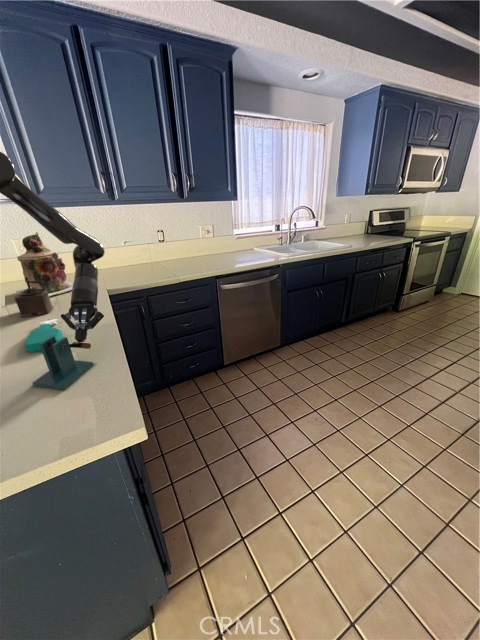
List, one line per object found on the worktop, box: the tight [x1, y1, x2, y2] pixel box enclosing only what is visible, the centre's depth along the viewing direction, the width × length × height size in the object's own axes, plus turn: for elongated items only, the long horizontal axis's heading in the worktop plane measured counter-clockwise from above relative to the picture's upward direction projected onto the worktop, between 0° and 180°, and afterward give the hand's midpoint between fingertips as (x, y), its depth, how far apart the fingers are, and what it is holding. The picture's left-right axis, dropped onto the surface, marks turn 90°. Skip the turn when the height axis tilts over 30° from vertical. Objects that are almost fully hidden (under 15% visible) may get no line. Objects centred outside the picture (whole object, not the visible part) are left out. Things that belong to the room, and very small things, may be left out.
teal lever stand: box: [32, 336, 94, 391], centre depth 76 cm, size 12×10×12 cm
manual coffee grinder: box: [14, 274, 53, 318], centre depth 121 cm, size 16×11×18 cm
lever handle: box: [47, 341, 92, 351], centre depth 79 cm, size 12×6×2 cm, turn 172°
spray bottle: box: [24, 318, 63, 353], centre depth 101 cm, size 3×11×24 cm
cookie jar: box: [15, 231, 73, 298], centre depth 145 cm, size 25×25×32 cm
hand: (80, 341), depth 84 cm, fingers closed
